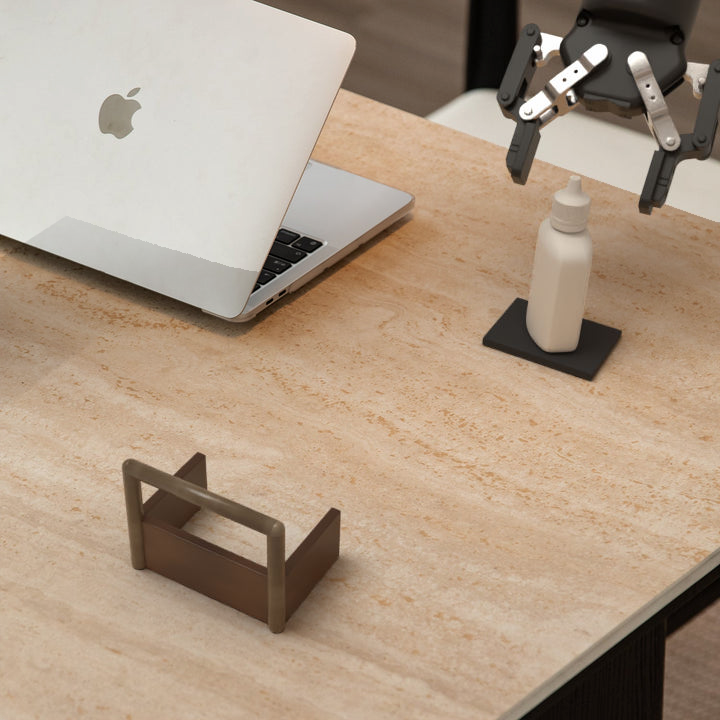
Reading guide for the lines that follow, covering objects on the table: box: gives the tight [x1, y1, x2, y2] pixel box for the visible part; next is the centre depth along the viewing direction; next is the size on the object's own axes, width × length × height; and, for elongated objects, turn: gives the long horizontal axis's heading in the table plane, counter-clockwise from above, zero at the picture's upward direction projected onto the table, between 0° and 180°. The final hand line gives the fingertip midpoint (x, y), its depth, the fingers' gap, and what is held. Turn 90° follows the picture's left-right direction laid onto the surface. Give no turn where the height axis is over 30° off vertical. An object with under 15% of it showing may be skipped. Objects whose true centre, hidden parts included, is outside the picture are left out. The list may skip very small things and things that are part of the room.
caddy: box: [121, 451, 342, 634], centre depth 66 cm, size 10×7×7 cm
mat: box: [481, 297, 623, 382], centre depth 86 cm, size 8×6×1 cm
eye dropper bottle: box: [526, 174, 594, 352], centre depth 83 cm, size 4×6×12 cm
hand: (580, 195), depth 81 cm, fingers open, 8 cm apart
